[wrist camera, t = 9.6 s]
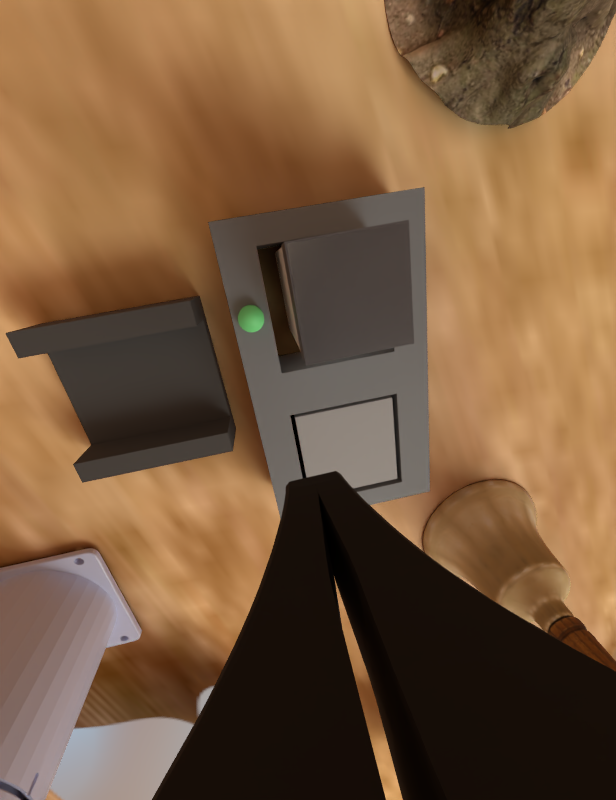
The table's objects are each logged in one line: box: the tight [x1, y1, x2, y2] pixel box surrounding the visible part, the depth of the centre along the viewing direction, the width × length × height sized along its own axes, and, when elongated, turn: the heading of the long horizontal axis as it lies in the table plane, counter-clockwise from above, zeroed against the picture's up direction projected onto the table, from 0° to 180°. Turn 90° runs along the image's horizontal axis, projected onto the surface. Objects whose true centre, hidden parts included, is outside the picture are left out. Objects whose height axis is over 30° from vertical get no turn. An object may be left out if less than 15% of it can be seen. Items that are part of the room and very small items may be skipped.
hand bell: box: [423, 480, 616, 671], centre depth 16 cm, size 8×8×16 cm
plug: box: [275, 220, 414, 365], centre depth 13 cm, size 4×4×6 cm
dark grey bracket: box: [6, 296, 236, 483], centre depth 15 cm, size 7×7×2 cm
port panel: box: [208, 187, 430, 518], centre depth 16 cm, size 8×14×3 cm, turn 9°
